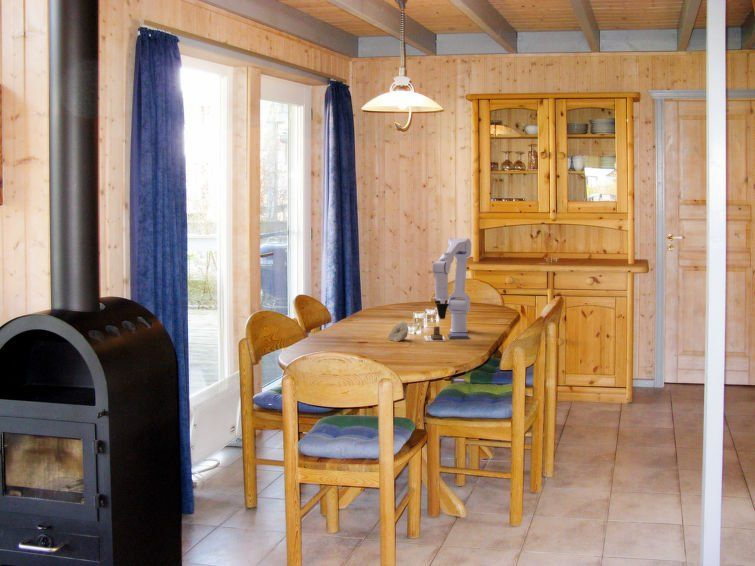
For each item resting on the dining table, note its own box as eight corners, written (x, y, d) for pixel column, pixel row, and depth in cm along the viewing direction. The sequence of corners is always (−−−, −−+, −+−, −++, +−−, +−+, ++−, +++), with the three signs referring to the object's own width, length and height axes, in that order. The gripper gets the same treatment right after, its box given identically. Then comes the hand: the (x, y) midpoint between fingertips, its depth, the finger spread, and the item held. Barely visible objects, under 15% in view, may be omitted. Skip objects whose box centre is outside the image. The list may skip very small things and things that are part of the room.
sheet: (423, 336, 433) (423, 335, 433) (443, 335, 433) (443, 335, 433) (425, 341, 419) (425, 340, 419) (445, 340, 419) (445, 340, 419)
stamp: (431, 338, 424) (430, 326, 424) (440, 338, 425) (440, 325, 424) (433, 340, 420) (432, 327, 419) (442, 339, 421) (442, 327, 420)
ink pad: (447, 335, 432) (447, 333, 432) (467, 335, 433) (467, 332, 432) (449, 339, 423) (449, 336, 423) (469, 338, 424) (469, 336, 423)
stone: (387, 344, 419) (383, 324, 424) (392, 349, 425) (389, 329, 430) (409, 337, 417) (404, 317, 421) (414, 342, 423) (410, 322, 427)
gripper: (431, 285, 429) (431, 315, 431) (433, 289, 415) (433, 320, 416) (446, 285, 429) (447, 315, 431) (449, 289, 415) (449, 319, 416)
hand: (441, 317), depth 424 cm, fingers open, 7 cm apart
